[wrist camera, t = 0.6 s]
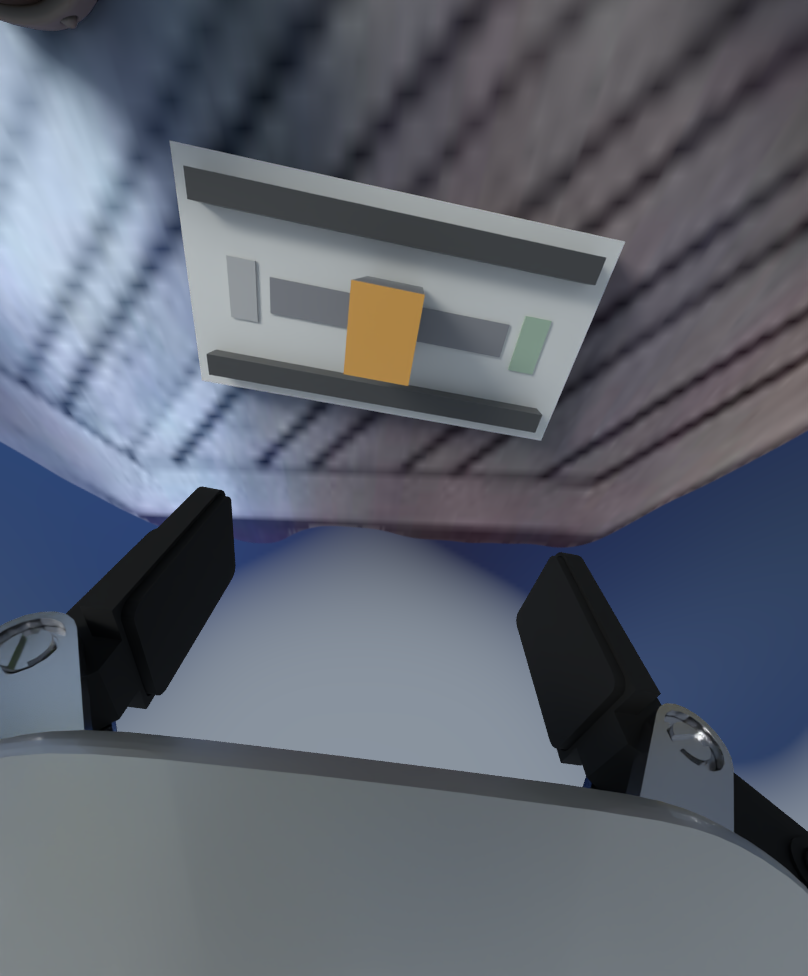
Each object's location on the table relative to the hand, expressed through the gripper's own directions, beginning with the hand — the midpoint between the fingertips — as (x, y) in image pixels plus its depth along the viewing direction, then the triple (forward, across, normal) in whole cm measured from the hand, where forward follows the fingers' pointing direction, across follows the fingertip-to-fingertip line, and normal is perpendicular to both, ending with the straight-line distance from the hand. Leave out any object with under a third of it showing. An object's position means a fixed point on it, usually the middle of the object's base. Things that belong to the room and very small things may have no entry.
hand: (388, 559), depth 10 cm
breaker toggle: (+22, +2, -4) cm, 22 cm away
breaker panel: (+25, +2, -4) cm, 25 cm away
